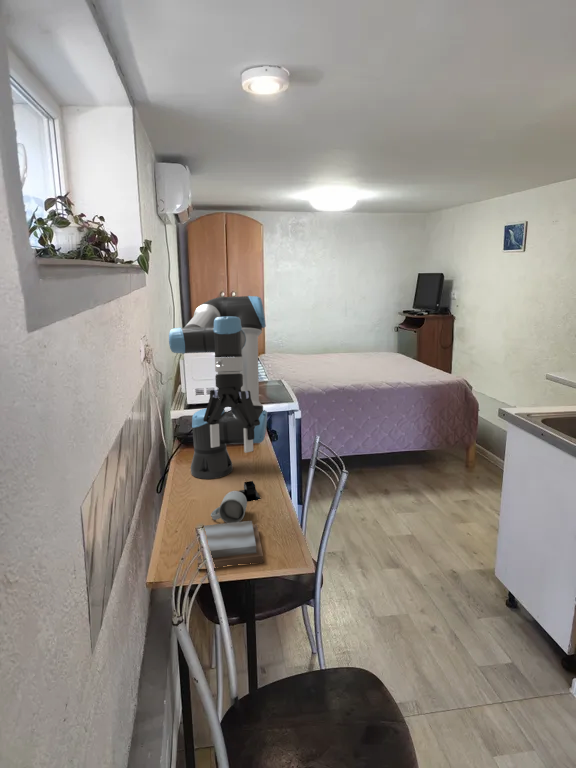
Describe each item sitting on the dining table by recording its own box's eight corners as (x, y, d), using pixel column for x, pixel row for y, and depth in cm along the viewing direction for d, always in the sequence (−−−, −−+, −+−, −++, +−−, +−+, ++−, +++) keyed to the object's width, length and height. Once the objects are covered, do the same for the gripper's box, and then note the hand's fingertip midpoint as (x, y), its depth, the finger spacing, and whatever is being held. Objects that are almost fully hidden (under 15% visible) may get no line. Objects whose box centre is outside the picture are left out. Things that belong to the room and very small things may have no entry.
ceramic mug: (248, 510, 150) (247, 487, 148) (245, 524, 142) (244, 499, 140) (213, 511, 150) (212, 488, 148) (208, 524, 142) (207, 500, 140)
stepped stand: (199, 536, 135) (198, 523, 135) (257, 530, 138) (256, 517, 137) (198, 570, 120) (196, 555, 119) (263, 562, 122) (262, 548, 121)
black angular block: (265, 502, 156) (265, 489, 155) (243, 506, 153) (242, 493, 152) (255, 487, 167) (255, 474, 166) (234, 490, 165) (234, 478, 164)
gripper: (189, 373, 141) (192, 446, 142) (251, 373, 125) (254, 456, 126) (209, 372, 147) (212, 443, 148) (271, 372, 131) (273, 451, 132)
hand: (231, 449), depth 137 cm, fingers open, 13 cm apart
